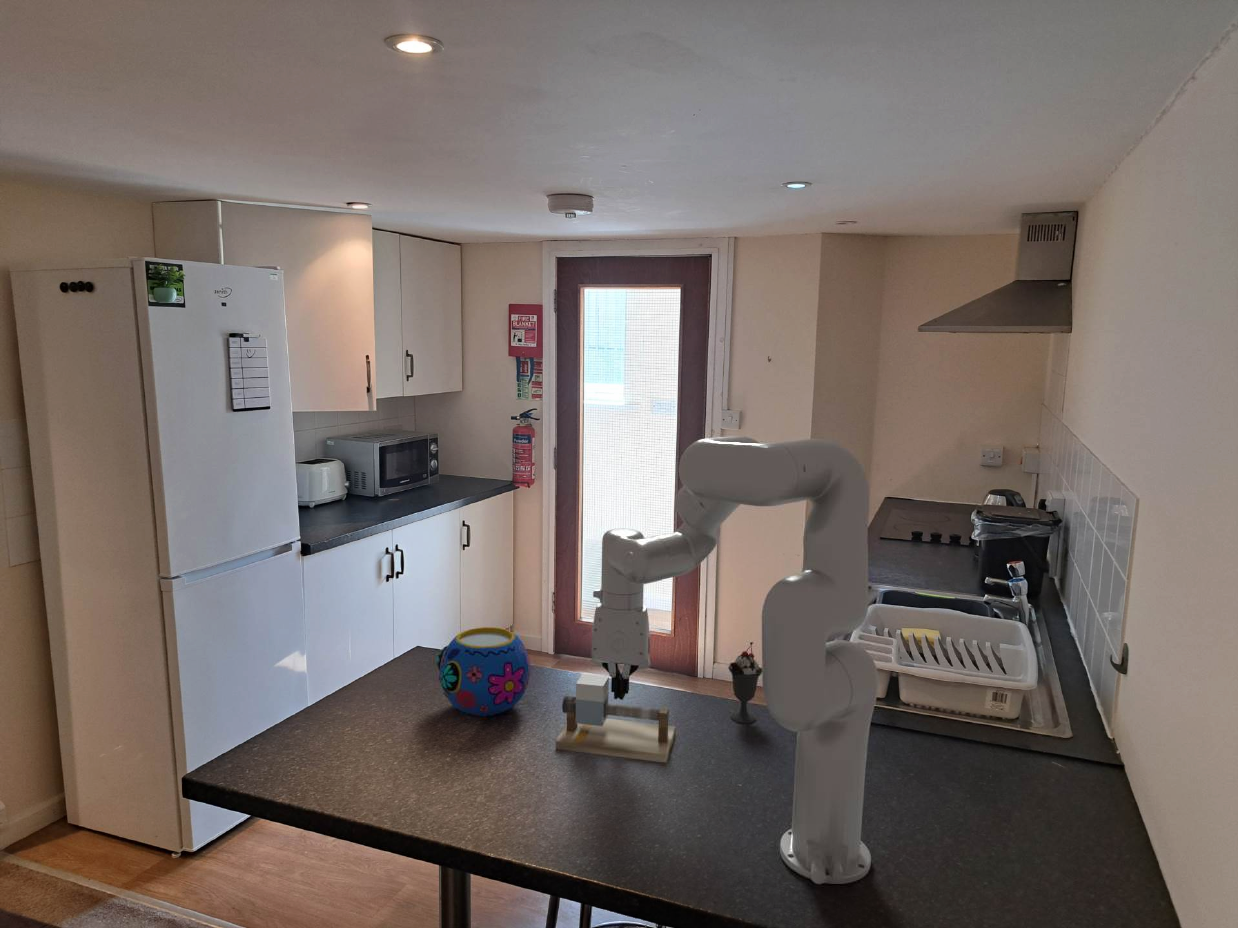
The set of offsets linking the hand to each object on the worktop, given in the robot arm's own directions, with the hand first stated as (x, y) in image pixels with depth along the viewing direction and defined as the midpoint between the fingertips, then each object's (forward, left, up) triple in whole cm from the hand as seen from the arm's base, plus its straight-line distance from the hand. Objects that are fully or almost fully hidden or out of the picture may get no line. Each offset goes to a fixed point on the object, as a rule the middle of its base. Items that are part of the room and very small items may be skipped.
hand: (619, 696), depth 148 cm
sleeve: (0, +5, -5) cm, 7 cm away
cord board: (0, 0, -9) cm, 9 cm away
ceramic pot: (+7, +28, -9) cm, 31 cm away
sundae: (+16, -22, -9) cm, 28 cm away
